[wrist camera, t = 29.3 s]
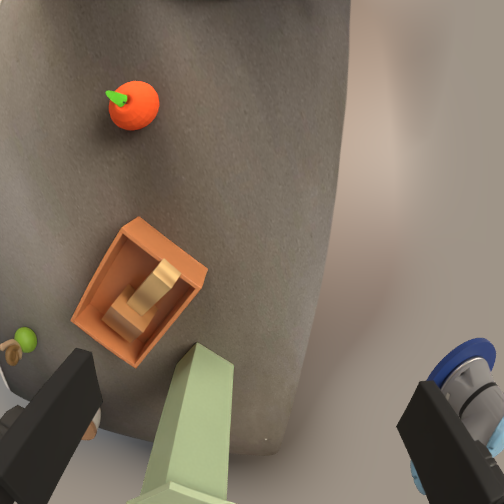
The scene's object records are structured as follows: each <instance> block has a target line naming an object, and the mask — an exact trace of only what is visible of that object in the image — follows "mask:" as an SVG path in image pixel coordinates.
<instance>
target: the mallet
mask: <svg viewBox="0 0 504 504" xmlns="http://www.w3.org/2000/svg"><path fill="white" fill-rule="evenodd" d="M180 275H181V272H180V271H178V270H177V269H176V268H175V267H174V266H173V265H171V264H170V263H169V262H168V261H167V260H166V259H163V260H162V261H161V262H160V263H159V264H158V265H157V266H156V268H155V269H154V270H153V271H152V272H151V273H150V275H149V276H148V277H147V278H146V279H145V280H144V281H143V283H142V284H141V285H140V286H139V287H138V288H137V290H135V289H134V288H133V287H132V286H131V285H130V284H128V285H127V286H126V288H125V289H124V290H123V291H122V293H121V294H120V295H119V296H118V298H117V299H116V300H115V301H114V303H113V304H112V305H111V307H110V308H109V309H108V311H107V312H106V313H105V315H104V316H103V318H102V319H101V320H102V321H104V322H105V323H106V324H107V325H108V326H110V327H111V328H112V329H113V330H114V331H116V332H117V333H118V334H119V335H121V336H122V337H123V338H124V339H126V340H127V341H128V342H129V343H131V342H132V341H134V340H135V339H136V338H137V337H138V336H140V335H141V334H142V333H143V332H144V331H145V329H146V328H147V326H148V325H149V323H150V321H151V320H152V318H153V317H154V315H155V314H156V312H157V311H158V308H157V307H156V306H154V304H155V303H156V302H157V301H159V300H160V299H161V298H162V297H163V296H164V295H165V294H166V293H167V292H168V291H169V290H170V289H171V288H172V287H173V285H174V284H175V282H176V281H177V280H178V278H179V277H180Z"/></svg>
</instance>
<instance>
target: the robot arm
mask: <svg viewBox="0 0 504 504" xmlns="http://www.w3.org/2000/svg"><path fill="white" fill-rule="evenodd" d="M102 402H103V401H102V397H101V393H100V388H99V384H98V380H97V375H96V370H95V366H94V360H93V355H92V352H89V351H86V350H82V349H78V348H75V350H74V351H73V352H72V353H71V354H70V355H69V356H68V358H67V359H66V360H65V361H64V362H63V363H62V364H61V366H60V367H59V368H58V369H57V370H56V371H55V373H54V374H53V375H52V376H51V377H50V378H49V380H48V381H47V382H46V383H45V384H44V386H43V387H42V388H41V389H40V390H39V392H38V393H37V394H36V395H35V397H34V398H33V399H32V400H31V401H30V403H29V404H28V405H27V406H26V408H23V407H21V406H19V405H17V406H15V407H13V408H12V409H10V410H8V411H7V412H6V413H5V414H4V415H3V417H2V418H1V419H0V504H13V503H14V501H16V502H17V504H47V503H48V501H49V499H50V497H51V495H52V493H53V491H54V490H55V488H56V486H57V484H58V482H59V480H60V478H61V476H62V474H63V472H64V470H65V468H66V467H67V465H68V463H69V461H70V459H71V457H72V455H73V454H74V452H75V450H76V448H77V446H78V444H79V443H80V441H81V439H82V437H83V436H84V434H85V432H86V430H87V428H88V427H89V425H90V423H91V421H92V420H93V418H94V416H95V414H96V413H97V411H98V409H99V408H100V406H101V404H102ZM459 417H460V418H459ZM396 427H397V429H398V431H399V433H400V436H401V438H402V440H403V442H404V444H405V447H406V449H407V451H408V454H409V455H410V458H411V463H410V466H411V473H412V477H413V478H414V483H415V485H416V487H417V489H418V490H419V491H420V493H422V494H423V495H426V496H427V499H428V501H429V504H504V474H503V472H502V471H501V469H500V468H499V466H498V465H497V464H496V463H497V462H496V461H495V459H494V458H493V457H495V456H496V455H498V454H499V453H500V452H501V451H502V450H503V449H504V393H503V392H502V391H501V389H500V388H499V387H498V386H497V384H496V383H495V382H494V380H493V377H492V374H491V371H490V369H489V365H488V363H487V361H486V360H485V359H484V358H483V357H482V356H478V355H477V356H472V357H470V358H468V359H466V360H464V361H462V362H461V363H460V364H458V365H457V366H456V367H455V368H454V369H453V370H452V371H451V372H450V373H449V374H448V375H447V376H446V378H445V379H444V381H443V382H442V384H441V386H440V388H439V387H438V386H437V384H436V383H435V382H434V380H430V381H420V382H419V384H418V386H417V388H416V390H415V392H414V394H413V396H412V398H411V400H410V402H409V404H408V406H407V408H406V410H405V412H404V413H403V415H402V417H401V419H400V421H399V422H398V424H397V426H396Z"/></svg>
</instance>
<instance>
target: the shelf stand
mask: <svg viewBox="0 0 504 504" xmlns="http://www.w3.org/2000/svg"><path fill="white" fill-rule="evenodd" d="M233 371H234V365H233V364H231V363H230V362H228V361H226V360H225V359H223V358H222V357H220V356H218V355H217V354H215V353H214V352H212V351H210V350H209V349H207V348H206V347H204V346H203V345H201V344H199V343H198V342H197V343H196V344H195V345H194V346H193V347H192V348H191V349H190V350H189V351H188V352H187V353H186V354H185V356H184V357H183V358H182V359H181V360H180V361H179V362H178V363H177V364H176V367H175V371H174V374H173V377H172V381H171V384H170V387H169V391H168V394H167V398H166V401H165V405H164V408H163V411H162V415H161V419H160V422H159V426H158V429H157V433H156V437H155V440H154V444H153V448H152V451H151V455H150V459H149V463H148V466H147V470H146V474H145V479H144V482H143V486H142V490H141V494H140V496H139V497H136V498H134V499H132V500H130V501H127V502H126V504H236V503H233V502H229V501H226V500H227V479H228V460H229V441H230V422H231V405H232V387H233Z"/></svg>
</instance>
